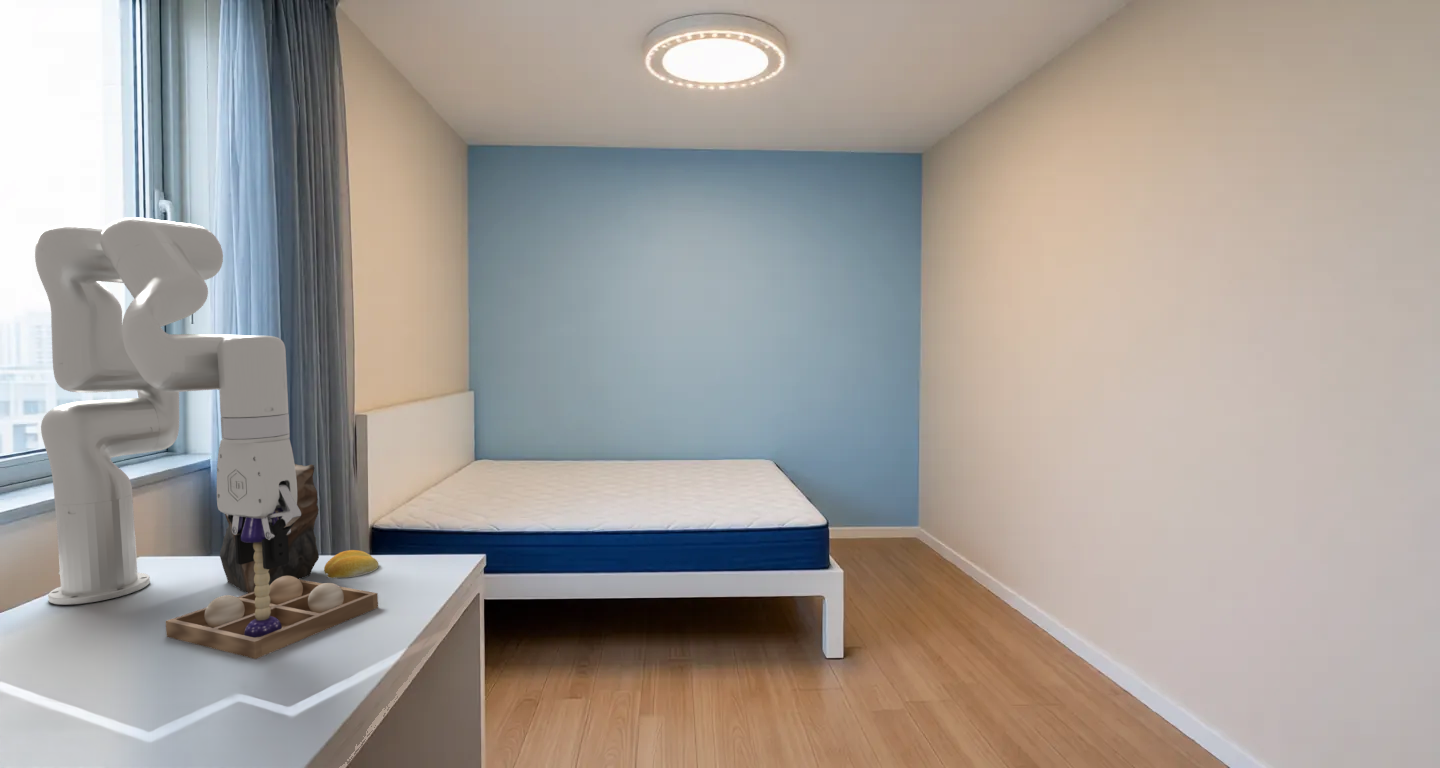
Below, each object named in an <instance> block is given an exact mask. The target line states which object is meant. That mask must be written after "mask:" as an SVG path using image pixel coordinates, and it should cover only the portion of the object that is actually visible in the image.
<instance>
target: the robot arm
mask: <svg viewBox="0 0 1440 768" xmlns="http://www.w3.org/2000/svg"><path fill="white" fill-rule="evenodd" d="M34 252H35V253H34V257H35V258H34V259H35V267H36V269H37V272H38V276H39V279H40V282H41V284H42V286H43V289H44V290H45V293H46V295H47V300H48V301H49V304H50V305H49V306H50V315H51V316H50V318H51V319H50V320H51V324H50V325H51V326H50V327H51V349H52V350H51V354H52V355H51V356H52V369H53V371H52V372H53V375H54V379H55V382H56V384H57V385H58V387H59V388H61V389H62V390H64V391H68V392H70V393H71V392H72V393H78V394H79V393H83V394H84V393H86V394H88V393H90V394H91V393H92V394H93V393H113V392H132V391H134V392H135V391H137V396H138V397H136V398H135V397H133V398H118V399H113V398H112V399H111V398H110V399H109V398H108V399H98V400H97V399H96V400H93V399H92V400H81V401H73V402H68V403H63V404H60V405H57V406H56V407H53V408H51V409H50V410H49V411H47V412H46V414H45V415H44V416H43V418H42V419H41V425H40V430H41V432H40V433H41V436H42V438H41V439H42V441H43V444H44V448H45V451H46V455H47V457H48V461H49V466H50V471H51V478H52V484H53V485H52V486H53V496H54V509H55V521H56V523H55V524H56V536H57V550H58V563H59V565H58V566H59V570H58V575H60V577H59V578H60V579H59V580H60V586H59V587H56V588H54V589H52V590H51V591H50V592H49V593H48V594H47V598H48V602H49V603H51V604H54V605H64V606H67V605H82V604H90V603H96V602H101V601H106V600H111V599H115V598H119V597H122V596H127V595H129V594H131V593H136V592H138V591H139V590H142V589H144V588H145V587H147V586H149V584H151V581H150V580H151V578H150V575H149V574H147V573H143V572H138V561H137V560H138V559H137V557H138V556H137V544H136V532H135V531H136V530H135V515H134V512H135V511H134V499H133V487H132V482H131V479H130V478H129V476H128V475H127V474H126V473H125V472H124V471H123V470H122V469H121V468H119V467H118V466H117V464H115V463H114V462H113V461H112V458H116V457H117V458H118V457H121V456H129V455H130V456H131V455H138V454H147V453H154V452H159V451H163V450H166V449H168V448H171V446H173V445H174V443H176V441H177V439H178V436H179V431H180V430H179V429H180V393H183V392H196V391H199V392H200V391H212V390H213V391H215V390H216V391H219V406H220V407H219V409H220V428H221V440H220V442H219V448H218V453H217V454H218V455H217V462H216V463H217V465H216V503H217V504H216V505H217V509H218V511H220V513H223V514H224V515H225V514H226V515H227V516H228V519H229V521H230V522H231V524H232V533H233V534H234V535H235V548H236V563H237V564H240V565H242V564H245V563H249V562H252V561H254V553H255V550H254V548H253V543H246V542H242V541H241V534H242V530H243V527H244V523H245V519H246V517H249V518H257V519H260V518H261V519H262V524H263V529H264V533H265V537H266V539H263V540H262V556H263V568H264V569H272V568H275V567H278V566H281V565H285V564H287V563H288V562H289V548H288V535H289V534H290V533H291V527H292V526H293V524H294V522H295V521H296V520H297V519H298V518H299V517H300V516H301V511H300V510H299V508H298V506H297V480H296V471H295V464H296V463H295V458H294V452H293V447H292V443H291V440H290V416H289V415H290V414H289V395H288V374H287V373H288V372H287V355H286V353H287V352H286V351H287V349H286V345H285V343H284V341H283V340H282V339H281V338H280V337H277V336H274V335H246V334H245V335H244V334H214V333H212V334H210V333H208V334H206V333H205V334H203V333H201V334H198V333H197V334H196V333H195V334H194V333H193V334H192V333H191V334H189V333H188V334H187V333H186V334H185V333H183V334H182V333H181V334H180V333H179V334H177V333H175V334H172V333H171V334H170V333H167V332H166V331H165V330H164V329H163V328H162V327H164V326H167V325H169V324H172V323H175V322H178V321H181V320H183V319H185V318H189V317H190V316H191V315H193V314H196V313H197V312H198V311H199V310H200V309H201V308H202V307H203V306H204V304H205V303H206V302H207V300H208V297H209V296H208V295H209V289H208V288H209V287H208V285H207V283H206V281H207V280H209V279H212V278H213V277H215V276H216V275H217V274H218V273H219V272H220V270H221V268H222V266H223V262H224V255H223V253H224V252H223V248H222V244H220V242H219V240H218V238H217V237H216V235H215V234H214V233H213V232H212V231H210V230H209V229H207V228H205V227H203V226H201V225H197V224H194V223H186V222H176V221H171V220H170V221H169V220H163V219H162V220H161V219H154V218H145V217H124V218H121V219H120V218H119V219H117V220H113V221H111V222H110V223H108V224H107V225H105V226H100V225H99V226H98V225H89V224H88V225H87V224H74V223H73V224H58V225H57V224H56V225H53V226H49V227H48V228H45V229H44V230H42V231H41V233H40V234H39V236H38V237H37V240H36V242H35V248H34ZM102 282H104V283H105V282H106V283H107V282H108V283H118V284H119V283H120V284H124V285H125V287H126V289H127V290H128V292H129V293H130V294H131V297H132V298H133V299H132V301H131V302H130V303H129V305H128V307H127V308H126V310H125V313H124V314H123V310H122V306H121V303H120V301H119V299H118V298H117V297H116V296H115V294H113V292H112V291H111V290H110V289H109V288H108V286H106V285H105V284H104V283H102ZM274 510H275V511H278V513H274V514H271V513H273V512H274ZM277 517H278V519H279V520H277V521H276V523H275V524H274V525H273V524H272V518H277ZM236 534H238V535H236Z"/></svg>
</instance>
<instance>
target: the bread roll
mask: <svg viewBox="0 0 1440 768" xmlns="http://www.w3.org/2000/svg"><path fill="white" fill-rule="evenodd" d="M323 568H324V569H323V572H324V574H326V575H327V578H330V579H344V578H347V579H348V578H353V577H358V576H363V575H366V574H368V573H371V572H373V571H376V570H377V569H379V561H378V560H377V559H376V558H375V557H373V556H372V555H371V554H369V553H367V552H366V551H363V550H356V549H350V550H344V551H340V552H338V553H337V554H335V555H334V556H332V557H331V558H330V559H329V560H327V562H326V563H325V565H324V567H323Z"/></svg>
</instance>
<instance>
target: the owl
mask: <svg viewBox="0 0 1440 768" xmlns="http://www.w3.org/2000/svg"><path fill="white" fill-rule="evenodd" d="M295 471H296V480H297V506H298V508H299V510H300V511H301V516H300V517H299V518H298V519H297V520H296V521H295V522H294V524H293V526H292V527H291V533H290V534H289V535H288V548H289V562H288V563H287V564H285V565H281V566H278V567H275V568H272V569H269V571H268V573H269V575H270V581H269V583H268V584H269V585H271V583H272V582H273V581H274V580H276V579H277V578H279V577H282V576H293V577H295V578H297V579H300V580H302V579H303V578H308V577H309V576H311V574H312V570H313V569H314V568H315V567H314V566H315V565H316V563H317V562H318V560H319V557H320V555H319V550H318V547H317V537H316V535H315V532H314V530H315V524H316V519H317V517H318V515H319V511H320V509H319V505H318V490H317V488H316V485H315V483H314V474H315V473H314V472H315V465H314V464H309V465H302V464H296V463H295ZM275 512H276V513H278V511H275ZM224 515H225V518H226V522H227V524H228V526H227V528H226V530H225V534H224V537H223V540H222V545H221V547H220V551H219V557H220V561H221V564H222V565H221V566H222V568H223V571H224V575H225V576H226V580H227V584H231V585H233V586H234V587H236V589H239V591H241V592H243V593H246V594H248V593H251V592H254V589H255V586H256V585H255V583H254V576H255V574H256V573H255V572H254V564H255V561H252V562H249V563H245V564H242V565H240V564H237V563H236V548H235V535H234V534H233V533H232V524H231V522H230V521H229V519H228V516H227V515H226V514H224ZM277 518H278V517H277ZM278 520H279V519H278ZM236 535H238V534H236Z"/></svg>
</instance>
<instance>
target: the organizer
mask: <svg viewBox="0 0 1440 768" xmlns="http://www.w3.org/2000/svg"><path fill="white" fill-rule="evenodd" d="M299 580H300V582H301V583H302V586H303V593H302V596H301V597H298V598H295V599H293V600H290V601H287V602H284V603H282V604H279V605H275V604H271V603H270V605H269V607H270V610H271V613H270V616H272V617H275V618H277V619H278V620H279V621H280V623H281V626H282V628H281V629H279V630H277V631H274V632H272V633H269V634H267V635H264V636H262V637H256V638H253V637H249V636H245V635H244V632H245V629H246V627H247V625H248V624H249V623H250V622H251V621H253V620H254V619H256V617H255V610H256V607H255V598H256V596H255V593H254V592H251V593H246V594H245V593H244V594H243V595H239V596H237V597H238V598H239V599H240V600H241V601H242V602H243V604H244V607H245V612H244V615H243V617H242V618H240V619H237V620H234V621H231V622H229V623H226V624H223V625H220V626H218V627H215V628H212V627H210V626H209V625H208V624H207V623H206V621H205V617H204V616H205V610H206V608H207V606H206V607H203V608H201V609H197V610H195V611H191V612H188V613H185V614H182V615H180V616H176V617H173V618H170V619H168V620H165V632H166V633H165V634H166V637H167V638H170V639H173V640H177V641H181V642H185V643H189V644H193V645H197V646H202V647H205V648H209V649H214V650H218V651H220V652H225V653H230V654H233V655H237V656H241V657H245V658H249V659H253V660H257V659H260V658H262V657H264V656H267V655H270V654H272V653H273V652H276V651H279V650H281V649H284V648H285V647H288V646H291V645H293V644H295V643H298V642H300V641H302V640H306V639H307V638H309V637H312V636H314V635H315V636H316V635H317V634H319V633H321V632H323V631H326V630H328V629H332V628H333V627H334V628H335V627H337V626H338V625H341V624H343V623H345V622H347V621H350V620H352V619H355V618H357V617H360V616H362V615H364V614H366V613H369V612H371V611H373V610H376V609H378V608H379V597H378V596H379V595H378V592H373V591H368V590H362V589H357V588H351V587H346V586H345V587H344V586H339V585H338V586H339V587H340V588H341V589H342V591H343V594H344V600H343V603H342V605H340V606H338V607H335V608H333V609H330V610H328V611H325V612H323V613H315V612H312V611H311V610H310V608H309V606H308V597H309V595H310V593H311V591H312V590H313V589H314V588H315V587H317V586H318V585H320V584H323V583H322V582H318V581H317V582H316V581H312V580H310V581H309V580H304V579H299Z"/></svg>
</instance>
